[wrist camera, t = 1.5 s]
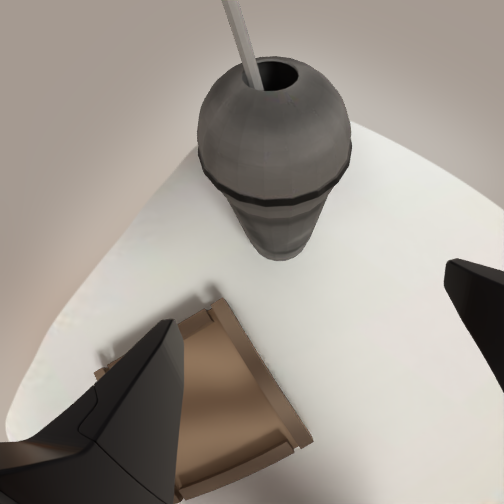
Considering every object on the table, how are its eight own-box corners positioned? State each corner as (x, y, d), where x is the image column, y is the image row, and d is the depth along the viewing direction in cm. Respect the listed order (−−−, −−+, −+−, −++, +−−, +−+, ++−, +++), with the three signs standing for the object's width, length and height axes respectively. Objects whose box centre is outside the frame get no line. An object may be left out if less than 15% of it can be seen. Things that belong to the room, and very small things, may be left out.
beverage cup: (322, 283, 23) (420, 31, 4) (226, 273, 24) (88, 38, 5) (327, 198, 25) (368, -48, 7) (241, 190, 26) (180, -46, 8)
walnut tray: (311, 436, 19) (313, 441, 18) (176, 498, 18) (169, 505, 17) (226, 301, 23) (222, 297, 22) (104, 372, 22) (93, 372, 21)
